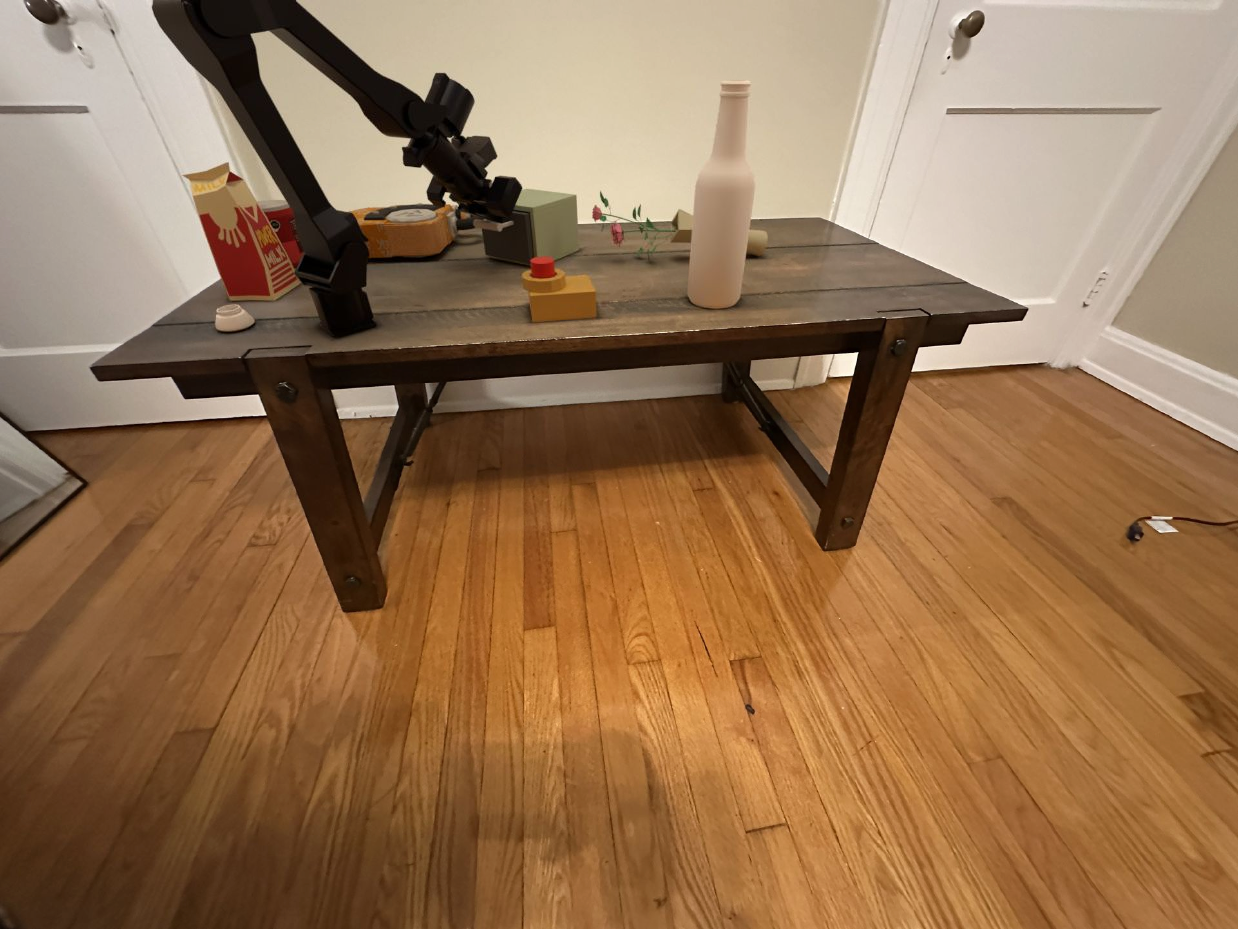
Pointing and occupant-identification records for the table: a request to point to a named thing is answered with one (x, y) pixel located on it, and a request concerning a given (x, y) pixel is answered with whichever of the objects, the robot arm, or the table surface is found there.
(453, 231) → the device
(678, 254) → the table surface
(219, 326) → the lidless jar
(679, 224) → the flower vase
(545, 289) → the control block
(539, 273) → the button
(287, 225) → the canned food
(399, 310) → the table surface
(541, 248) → the drawer cabinet
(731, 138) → the alcohol
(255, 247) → the milk carton
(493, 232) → the dark grey drawer
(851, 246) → the table surface
